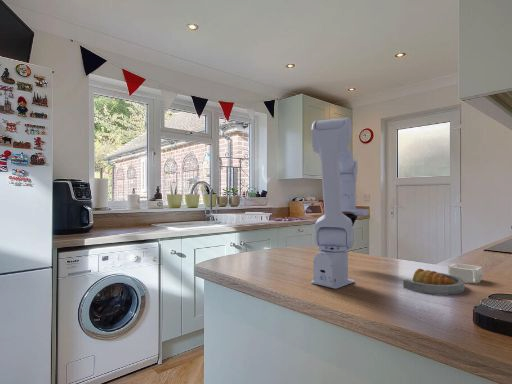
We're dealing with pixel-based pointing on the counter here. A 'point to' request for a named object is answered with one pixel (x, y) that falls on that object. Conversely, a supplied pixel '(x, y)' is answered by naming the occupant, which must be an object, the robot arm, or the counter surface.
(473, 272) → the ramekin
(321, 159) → the robot arm
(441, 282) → the pastry
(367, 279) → the counter surface
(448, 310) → the counter surface
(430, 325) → the counter surface
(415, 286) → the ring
